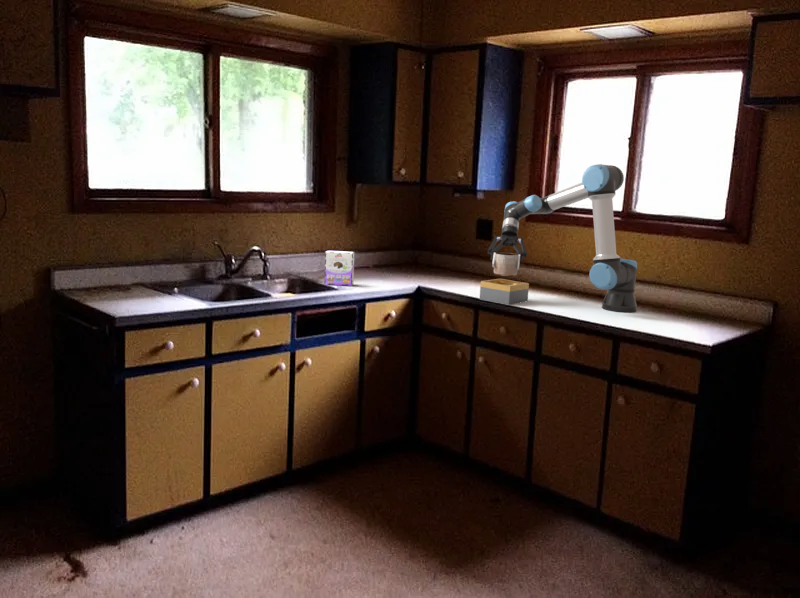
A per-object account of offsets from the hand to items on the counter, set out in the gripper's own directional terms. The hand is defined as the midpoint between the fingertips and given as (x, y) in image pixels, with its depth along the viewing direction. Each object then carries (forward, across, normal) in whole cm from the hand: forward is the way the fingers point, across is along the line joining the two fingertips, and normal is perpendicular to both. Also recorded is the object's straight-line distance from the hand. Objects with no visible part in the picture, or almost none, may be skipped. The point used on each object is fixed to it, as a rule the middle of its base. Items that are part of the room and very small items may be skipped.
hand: (505, 266), depth 340 cm
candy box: (+6, +81, -18) cm, 83 cm away
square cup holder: (+10, 0, -13) cm, 16 cm away
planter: (+1, 0, -5) cm, 5 cm away
